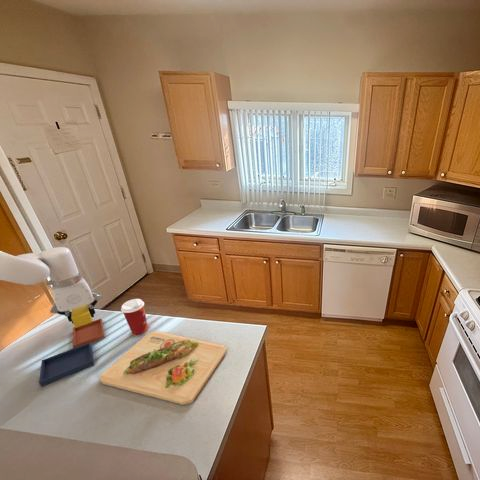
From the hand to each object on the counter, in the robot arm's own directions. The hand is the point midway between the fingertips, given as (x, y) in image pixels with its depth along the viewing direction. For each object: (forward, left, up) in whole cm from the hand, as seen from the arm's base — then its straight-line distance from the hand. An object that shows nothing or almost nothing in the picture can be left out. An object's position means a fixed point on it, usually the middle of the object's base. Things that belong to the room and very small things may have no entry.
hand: (83, 318), depth 100 cm
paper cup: (+16, -10, -8) cm, 21 cm away
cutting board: (+21, -36, -8) cm, 42 cm away
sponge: (0, 0, -1) cm, 1 cm away
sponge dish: (0, 0, -8) cm, 8 cm away
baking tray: (-6, -14, -8) cm, 17 cm away
